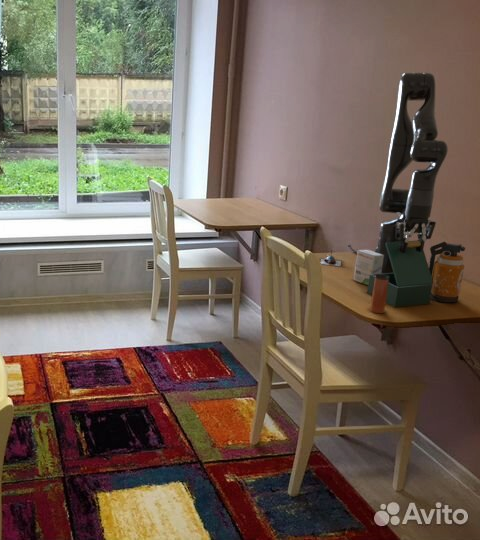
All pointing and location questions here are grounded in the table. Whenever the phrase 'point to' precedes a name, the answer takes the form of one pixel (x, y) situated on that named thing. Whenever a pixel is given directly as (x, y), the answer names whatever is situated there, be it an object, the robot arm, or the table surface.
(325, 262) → the bomb figurine
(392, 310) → the table surface
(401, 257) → the lid
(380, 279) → the jar
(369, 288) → the chest
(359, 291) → the table surface
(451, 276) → the canister
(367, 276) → the ink box
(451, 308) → the table surface
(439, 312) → the table surface
